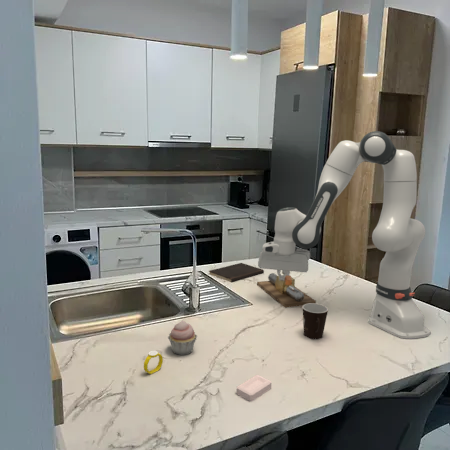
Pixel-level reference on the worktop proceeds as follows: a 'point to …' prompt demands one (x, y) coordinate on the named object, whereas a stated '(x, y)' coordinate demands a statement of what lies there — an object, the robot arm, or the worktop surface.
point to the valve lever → (287, 278)
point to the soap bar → (253, 388)
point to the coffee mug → (314, 320)
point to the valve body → (286, 287)
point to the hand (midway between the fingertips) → (282, 280)
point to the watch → (150, 355)
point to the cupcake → (182, 338)
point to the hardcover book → (236, 272)
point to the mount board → (283, 295)
